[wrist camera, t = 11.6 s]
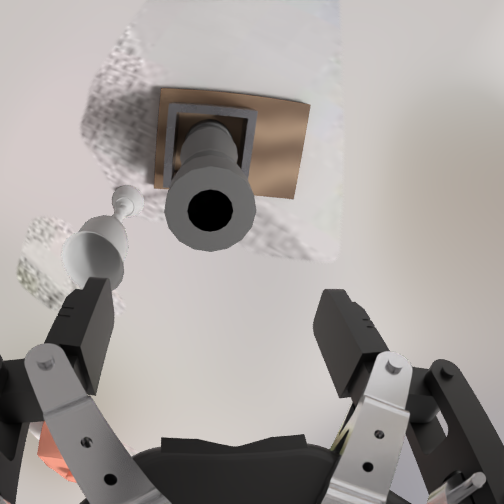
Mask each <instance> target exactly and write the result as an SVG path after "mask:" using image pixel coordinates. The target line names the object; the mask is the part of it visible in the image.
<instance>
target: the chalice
mask: <svg viewBox="0 0 504 504" xmlns="http://www.w3.org/2000/svg"><path fill="white" fill-rule="evenodd" d="M112 205H113V208H114V214H113V215H112V216H106V215H103V216H98V217H94V218H91V219H90V220H88V221H87V222H85V224H84V225H83V226H82V228H81V229H80V230H79V232H77V233H74V234H72V235H71V236H70V237H69V238H67V239H66V241H65V243H64V245H63V247H62V254H61V258H62V263H63V267H64V269H65V271H66V273H67V275H68V276H69V277H70V278H71V280H72V281H73V282H74V283H75V284H77V285H78V286H79V287H81V288H82V289H83V288H84V286H85V284H86V282H87V280H88V278H89V277H101V278H109V279H110V283H111V291H112V290H114V289H116V288H117V287H118V286H119V284H120V283H121V281H122V279H123V275H124V266H123V263H124V260H125V258H126V255H127V252H128V238H127V234H126V231H125V228H124V226H123V225H122V221H123V219H125V218H129V217H134V216H136V215H138V214H139V213H140V212H141V211H142V209H143V206H144V198H143V195H142V194H141V192H140V191H139V190H138V189H137V188H135V187H133V186H129V185H125V186H121V187H119V188H118V189H116V191H115V192H114V193H113V197H112Z"/></svg>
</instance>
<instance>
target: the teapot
mask: <svg viewBox="0 0 504 504" xmlns="http://www.w3.org/2000/svg"><path fill="white" fill-rule="evenodd" d="M37 455H38V456H39V457H40V458H41V459H42V460H43V461H44V463H45V464H46V465H47V466H48V467H49V468H52V469H53V470H55V471H56V472H57V473H59V474H60V475H61V476H63V477H64V478H65V479H67V480H68V481H71V482H75V483H77V482H76V480H75V479H74V477H73V475H72V473H71V472H70V470H69V468H68V466H67V464H66V463H65V461H64V459H63V457H62V455H61V453H60V451H59V449H58V447H57V445H56V443H55V441H54V439H53V437H52V435H51V433H50V431H49V429H48V427H47V425H46V422H45V421H44V423H43V426H42V431H41V435H40V440H39V446H38V453H37Z"/></svg>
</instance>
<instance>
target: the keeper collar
mask: <svg viewBox="0 0 504 504" xmlns="http://www.w3.org/2000/svg"><path fill="white" fill-rule="evenodd" d="M180 112H182V113H198V114H211V115H222V116H232V117H241V118H243V124H242V131H241V139H240V146H239V154H238V162H237V165H238V166H239V167H240V168H241V170H242V172H243V173H244V175H245V176H246V178H247V179H248V177H249V170H250V163H251V156H252V149H253V142H254V135H255V128H256V121H257V114H258V111H256V110H254V109H251V108H243V107H234V106H224V105H213V104H201V103H185V102H172V103H169V108H168V119H167V131H166V144H165V158H164V175H163V188H169V187H170V185H171V182H172V179H173V178H174V176H175V175H176V173H177V172H178V170H175V162H176V149H177V137H178V126H179V115H180Z"/></svg>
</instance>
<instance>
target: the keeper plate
mask: <svg viewBox="0 0 504 504" xmlns="http://www.w3.org/2000/svg"><path fill="white" fill-rule="evenodd" d="M172 102H185V103H201V104H213V105H224V106H234V107H243V108H251V109H254V110H256V111H258V114H257V121H256V128H255V135H254V142H253V149H252V156H251V163H250V170H249V177H248V181H249V184H250V186H251V189H252V191H253V194H254V195H256V196H267V197H277V198H287V199H294V194H295V189H296V184H297V178H298V173H299V168H300V162H301V157H302V151H303V145H304V140H305V134H306V128H307V123H308V117H309V111H310V105H309V104H304V103H298V102H293V101H287V100H281V99H274V98H267V97H260V96H253V95H245V94H236V93H227V92H216V91H204V90H190V89H171V88H161V94H160V104H159V115H158V127H157V141H156V157H155V177H154V188H155V189H169V188H163V175H164V158H165V144H166V131H167V119H168V108H169V103H172ZM206 119H212V120H217V121H219V122H221V123H222V124H224V125H225V126H226V127H227V129H228V130H229V132H230V133H231V135H232V139H233V142H234V143H235V145H236V148H237V154H239V146H240V139H241V131H242V124H243V118H241V117H232V116H222V115H211V114H198V113H182V112H180V115H179V126H178V137H177V149H176V162H175V170H179V169H180V167H181V166H182V165H181V161H180V154H181V149H182V145H183V144H184V142H185V137H186V135H187V133H188V131H189V130H190V128H191V127H192V126H193V125H194V124H196V123H197V122H199V121H201V120H206ZM237 162H238V159H237ZM236 164H237V163H236Z"/></svg>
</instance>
